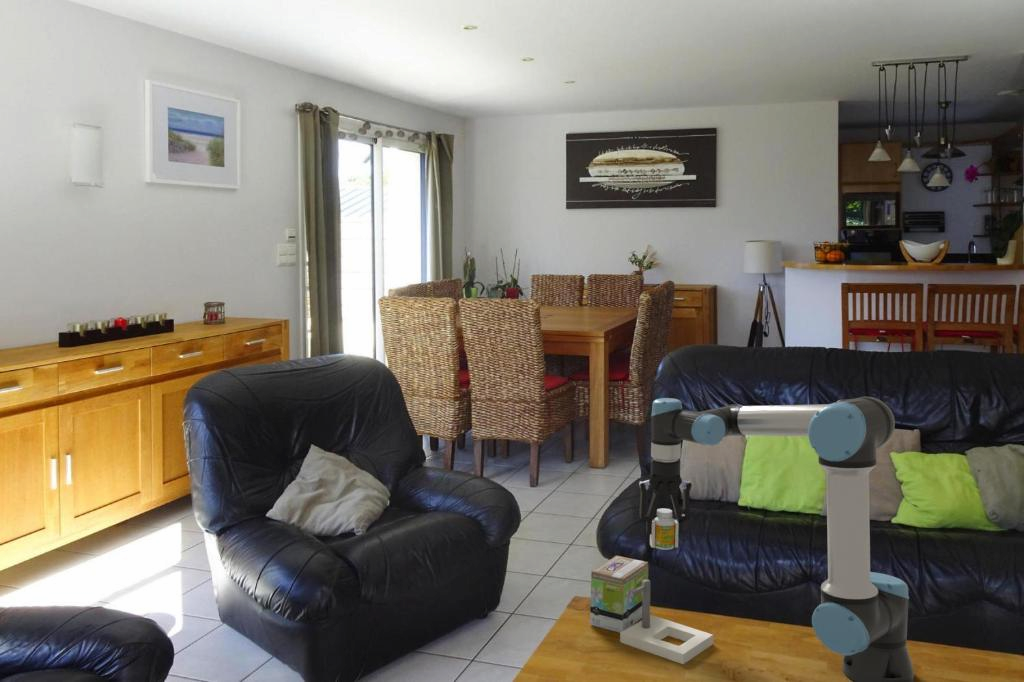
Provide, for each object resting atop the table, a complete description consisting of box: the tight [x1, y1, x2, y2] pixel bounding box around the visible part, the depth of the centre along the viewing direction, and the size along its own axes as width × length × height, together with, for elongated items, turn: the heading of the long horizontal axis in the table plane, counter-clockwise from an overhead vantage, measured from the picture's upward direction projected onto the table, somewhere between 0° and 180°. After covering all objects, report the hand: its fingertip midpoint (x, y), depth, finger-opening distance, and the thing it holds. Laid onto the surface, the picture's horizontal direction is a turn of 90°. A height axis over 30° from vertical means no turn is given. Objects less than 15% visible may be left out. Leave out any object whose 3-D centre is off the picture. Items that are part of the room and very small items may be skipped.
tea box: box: [589, 555, 649, 633], centre depth 233 cm, size 15×10×15 cm, turn 147°
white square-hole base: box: [619, 579, 714, 665], centre depth 218 cm, size 18×14×14 cm
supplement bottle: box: [653, 507, 676, 551], centre depth 229 cm, size 5×5×10 cm
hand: (663, 545), depth 230 cm, fingers closed on supplement bottle, 5 cm apart
